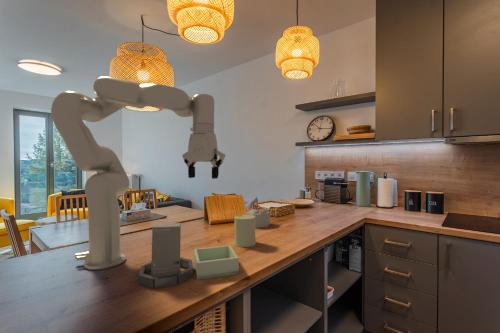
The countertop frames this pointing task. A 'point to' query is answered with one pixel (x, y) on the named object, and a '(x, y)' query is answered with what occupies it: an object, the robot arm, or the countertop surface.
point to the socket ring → (165, 280)
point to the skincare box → (165, 249)
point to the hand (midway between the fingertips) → (203, 178)
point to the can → (244, 230)
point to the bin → (215, 262)
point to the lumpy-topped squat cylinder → (260, 217)
